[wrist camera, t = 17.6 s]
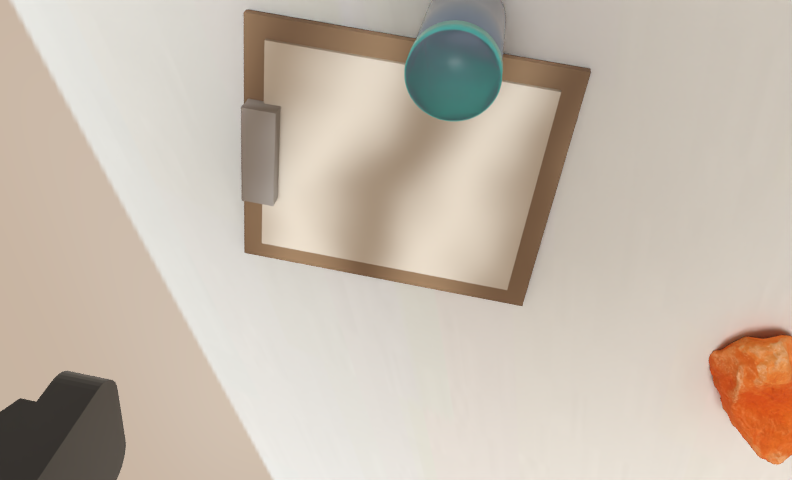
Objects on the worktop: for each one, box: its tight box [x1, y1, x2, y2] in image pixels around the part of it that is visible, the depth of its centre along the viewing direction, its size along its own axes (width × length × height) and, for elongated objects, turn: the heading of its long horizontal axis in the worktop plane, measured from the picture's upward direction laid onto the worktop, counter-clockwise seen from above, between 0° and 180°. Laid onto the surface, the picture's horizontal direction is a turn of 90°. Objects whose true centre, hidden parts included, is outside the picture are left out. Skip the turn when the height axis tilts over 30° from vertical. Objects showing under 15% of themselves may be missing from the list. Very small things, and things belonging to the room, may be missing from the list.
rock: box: [709, 335, 792, 465], centre depth 37 cm, size 12×12×4 cm
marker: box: [404, 0, 506, 121], centre depth 27 cm, size 3×3×7 cm
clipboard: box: [241, 10, 591, 306], centre depth 34 cm, size 15×13×1 cm
